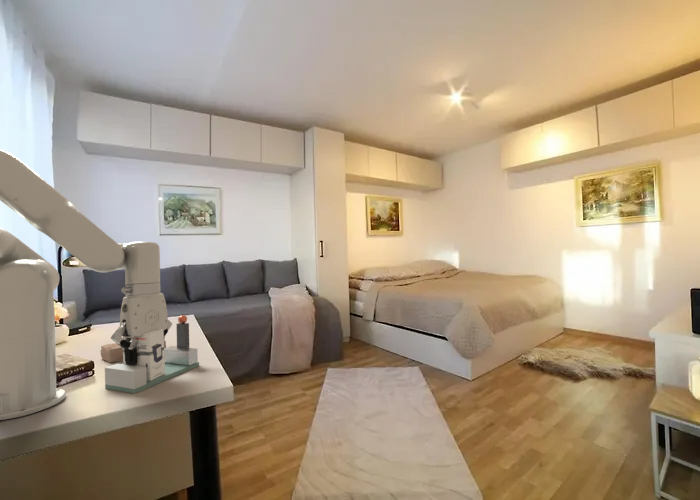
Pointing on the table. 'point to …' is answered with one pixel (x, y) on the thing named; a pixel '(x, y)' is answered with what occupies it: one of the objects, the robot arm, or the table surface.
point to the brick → (114, 352)
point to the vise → (138, 376)
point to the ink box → (150, 353)
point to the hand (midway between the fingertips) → (144, 359)
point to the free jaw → (181, 346)
